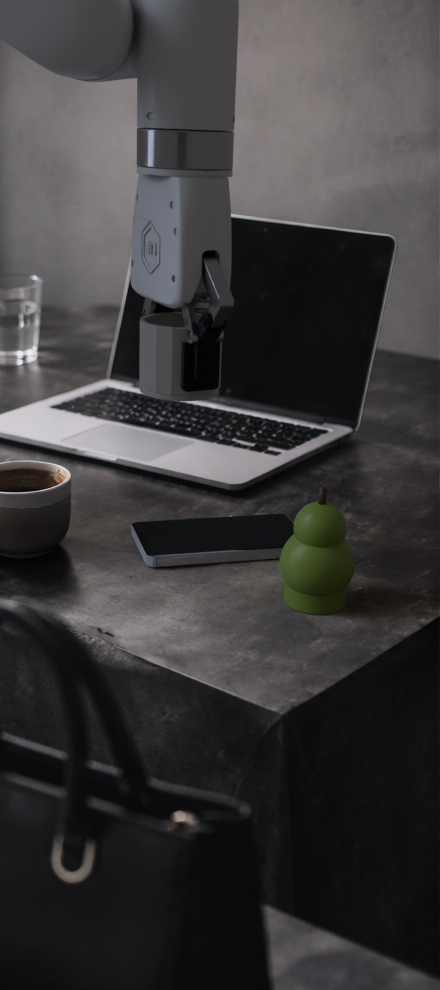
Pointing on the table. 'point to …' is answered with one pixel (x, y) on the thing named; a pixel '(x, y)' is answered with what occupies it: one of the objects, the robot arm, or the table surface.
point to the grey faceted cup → (166, 358)
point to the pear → (317, 559)
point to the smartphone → (212, 539)
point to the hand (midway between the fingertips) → (179, 376)
